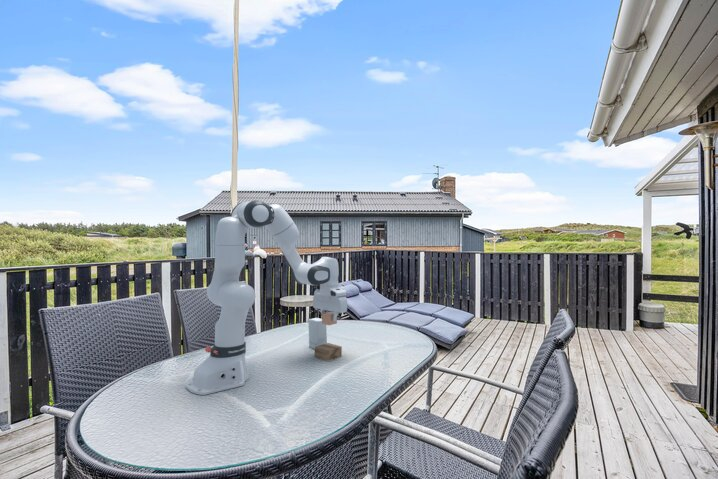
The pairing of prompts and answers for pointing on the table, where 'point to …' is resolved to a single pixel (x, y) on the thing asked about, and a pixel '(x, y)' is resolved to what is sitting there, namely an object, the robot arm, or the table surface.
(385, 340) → the table surface
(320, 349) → the walnut block
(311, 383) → the table surface
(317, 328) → the skincare box
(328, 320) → the terracotta cube
